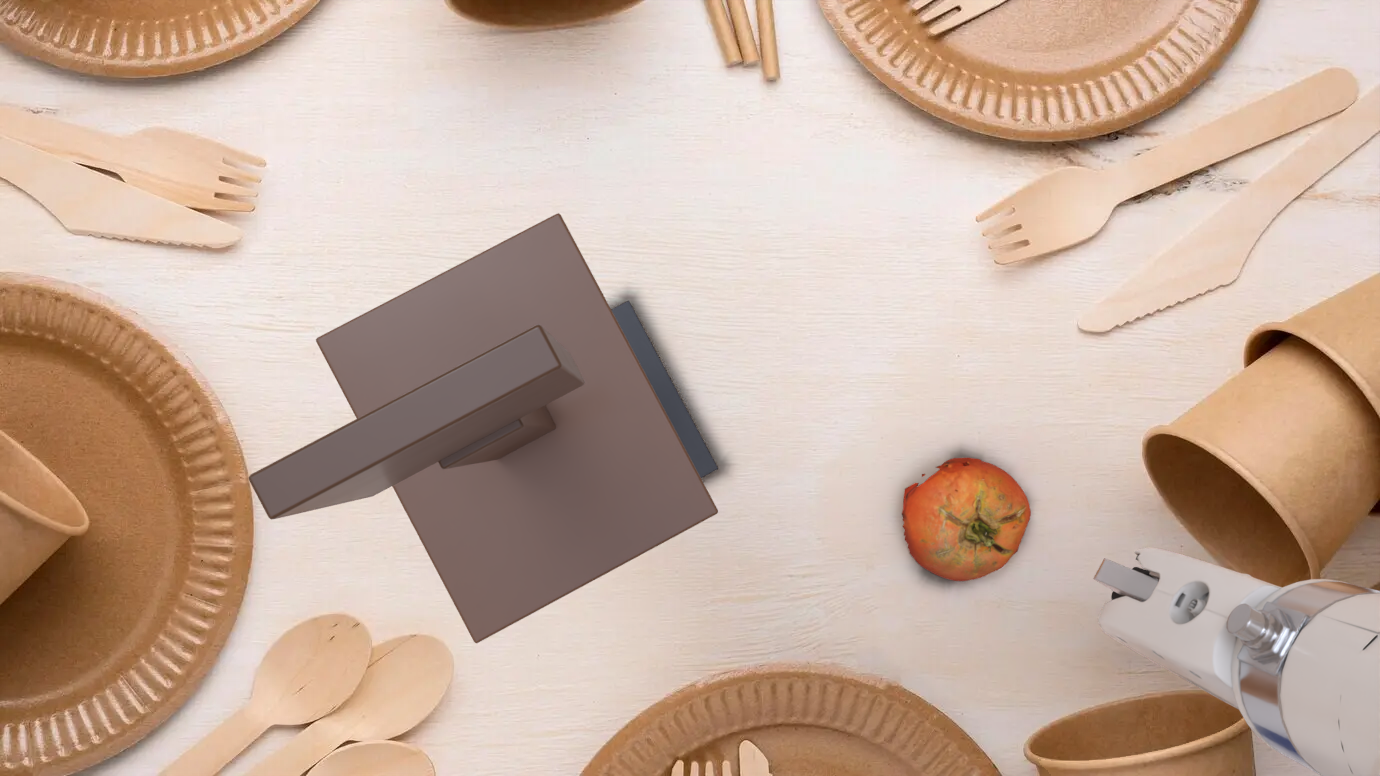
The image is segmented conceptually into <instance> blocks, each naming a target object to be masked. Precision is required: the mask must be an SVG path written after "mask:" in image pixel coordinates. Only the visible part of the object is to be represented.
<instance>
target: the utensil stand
mask: <svg viewBox="0 0 1380 776" xmlns="http://www.w3.org/2000/svg"><path fill="white" fill-rule="evenodd" d="M315 342H316V344H317V346H318V348H319V350H320V351H321V354H322V356H323V357H324V359H325V362H326V363H327V365H328V367H329V369H330V371H331V372H332V374H333V377H334V378H335V380H336V382H337V384H338V386H339V388H340V390H341V392H342V393H343V395H344V397H345V399H346V401H347V403H348V406H349V407H350V409H351V410H352V412H353V414H354V416H355V418H356V419H353V420H352V421H350V422H348V423H345V424H344V425H341V426H340V427H338V428H337V429H334V430H333V431H331V432H329V433H327V434H325V435H323V436H321V437H319V438H317V439H315V440H314V441H312V442H310V443H308V444H306V445H304V446H302V447H301V448H298V449H297V450H295V451H293V452H291V453H289V454H287V455H285V456H283V457H281V458H279V459H277V460H275V461H274V462H272V463H270V464H268V465H266V466H263V467H262V468H260V469H258V470H256V471H255V472H253V473H251V474H250V475H249V476H248V481H249V483H250V485H251V487H252V489H253V490H254V492H255V495H256V496H257V498H258V500H259V502H260V504H261V505H262V508H263V510H264V512H265V514H266V516H267V517H268V519H270V520H277V519H281V518H285V517H286V518H287V517H290V516H294V515H298V514H304V513H306V512H311V511H315V510H320V509H326V508H329V507H332V506H338V505H341V504H346V503H349V502H350V503H351V502H355V501H359V500H364V499H369V498H372V497H375V496H376V495H378V494H380V493H382V492H384V491H386V490H388V489H390V488H391V487H392V489H393V490H394V492H395V495H396V496H397V498H398V500H399V502H400V504H401V506H402V507H403V509H404V511H405V513H406V515H407V517H408V519H409V521H410V523H411V525H412V527H413V528H414V530H415V532H416V534H417V536H418V538H419V540H420V542H421V544H422V546H423V548H424V550H425V551H426V553H427V555H428V557H429V559H430V561H431V563H432V565H433V567H434V568H435V570H436V572H437V574H438V576H439V578H440V580H441V582H442V583H443V585H444V588H445V590H446V591H447V593H448V595H449V597H450V599H451V601H452V603H453V604H454V606H455V609H456V611H457V612H458V614H459V616H460V618H461V620H462V622H463V624H464V625H465V627H466V629H467V631H468V633H469V635H470V637H471V639H472V641H473V642H474V643H475V644H479V643H480V642H483V641H485V640H487V639H488V638H490V637H492V636H494V635H495V634H497V633H499V632H500V631H503V630H505V629H507V628H508V627H510V626H512V625H514V624H516V623H517V622H520V621H521V620H523V619H525V618H527V617H529V616H531V615H532V614H534V613H536V612H539V611H540V610H541V609H544V608H545V607H547V606H549V605H551V604H553V603H554V602H557V601H558V600H560V599H562V598H564V597H566V596H567V595H569V594H572V593H573V592H575V591H577V590H579V589H581V588H583V587H584V586H586V585H588V584H590V583H592V582H593V581H595V580H597V579H599V578H601V577H602V576H605V575H606V574H608V573H610V572H612V571H614V570H616V569H618V568H619V567H622V566H624V565H625V564H627V563H630V562H631V561H632V560H634V559H636V558H638V557H640V556H641V555H644V554H645V553H647V552H649V551H651V550H653V549H655V548H657V547H658V546H661V545H662V544H664V543H665V542H667V541H670V540H671V539H673V538H675V537H677V536H679V535H681V534H682V533H684V532H687V531H688V530H690V529H692V528H694V527H695V526H697V525H699V524H701V523H703V522H704V521H706V520H708V519H710V518H712V517H714V516H716V515H717V514H718V513H719V510H718V507H717V506H716V503H715V502H714V500H713V498H712V497H711V494H710V492H709V491H708V489H707V486H706V484H705V483H704V481H703V478H704V477H706V476H708V475H710V474H712V473H713V472H715V471H717V470H718V469H719V467H718V465H717V463H716V461H715V459H714V457H713V455H712V454H711V452H710V450H709V448H708V446H707V444H706V443H705V441H704V438H703V437H702V434H701V433H700V431H699V429H698V427H697V426H696V423H695V421H694V419H693V418H692V416H691V414H690V412H689V411H688V408H687V407H686V405H685V403H684V401H683V400H682V397H681V395H680V394H679V392H678V390H677V388H676V386H675V385H674V381H672V379H671V377H670V375H669V373H668V371H667V369H666V367H665V366H664V365H665V364H664V363H663V362H662V359H661V358H660V356H659V354H658V352H657V350H656V348H655V347H654V344H653V343H652V341H651V339H650V337H649V336H648V333H647V331H646V330H645V328H644V326H643V324H642V322H641V320H640V318H639V316H638V315H637V313H636V311H635V309H634V307H633V306H632V303H631V302H630V300H626V301H624V302H622V303H620V304H618V305H617V306H614V307H613V308H611V306H610V304H609V303H608V300H607V299H606V297H605V295H604V293H603V292H602V290H601V288H600V286H599V284H598V282H597V280H596V278H595V276H594V274H593V273H592V270H591V268H590V267H589V265H588V264H587V262H586V260H585V258H584V256H583V254H582V252H581V250H580V248H579V246H578V244H577V242H576V241H575V239H574V237H573V235H572V233H571V231H570V229H569V228H568V226H567V223H566V222H565V220H564V218H563V216H562V214H560V213H559V212H558V213H555V214H553V215H551V216H549V217H548V218H545V219H544V220H542V221H540V222H538V223H536V224H534V225H532V226H529V227H528V228H526V229H525V230H522V231H520V232H519V233H517V234H515V235H513V236H511V237H509V238H507V239H504V240H503V241H501V242H499V243H498V244H495V245H493V246H491V247H490V248H488V249H486V250H483V251H482V252H480V253H478V254H476V255H474V256H473V257H470V258H468V259H467V260H466V259H465V260H464V261H463V262H460V263H459V264H457V265H455V266H452V267H451V268H449V269H447V270H445V271H443V272H441V273H440V274H438V275H436V276H434V277H432V278H429V279H428V280H426V281H424V282H421V283H420V284H418V285H416V286H414V287H412V288H411V289H409V290H406V291H404V292H403V293H401V294H399V295H397V296H395V297H392V298H391V299H390V300H388V301H386V302H384V303H382V304H380V305H377V306H376V307H374V308H372V309H369V310H368V311H366V312H363V313H362V314H359V316H356V317H355V318H353V319H351V320H348V321H347V322H345V323H342V324H341V325H339V326H336V327H335V328H333V329H331V330H330V331H328V332H325V333H324V334H322V335H319V336H318V337H316V339H315Z"/></svg>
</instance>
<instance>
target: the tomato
mask: <svg viewBox="0 0 1380 776" xmlns="http://www.w3.org/2000/svg"><path fill="white" fill-rule="evenodd" d="M935 469H938V470H937V471H935V473H934V474H932V475H930V476H929V477H928V478H927V479H926V480H925V481H924V482H922V483H921V484H919V483H920V482H914V483H912V484H910V485H909V486H906V487H905V488H904V491H903V500H902V511H901V517H902V522H903V525H902V529H903V530H904V532H903V536H904V541H905V542H906V544H907V549H908V552H909V555H911V557H912V558H913V560H914V561H915V562H916V563H917V564H918V565H919V566H920V567H922V568H923V569H925V570H926V571H928V572H930V573H931V574H934V575H935V576H938V577H941V578H943V579H946V580H948V581H953V582H968V581H972V580H978V579H981V578H985V577H986V576H988V575H990V574H992V573H995V572H997V571H998V570H1000V569H1002V568H1003V567H1004V566H1005V565H1006V564H1008V562H1009V561H1010V560H1011V559H1012V558H1013V556H1014V555H1015V554H1017V553H1018V551H1019V548H1020V545H1021V543H1022V539H1023V538H1024V536H1025V534H1026V533H1025V532H1026V529H1027V528H1028V524H1029V523H1030V520H1031V517H1032V512H1031V511H1032V510H1031V506H1030V503H1029V500H1028V497H1027V495H1026V493H1025V491H1024V490H1023V489H1022V487H1021V486H1020V485H1019V483H1018V481H1016V480H1015V478H1014V477H1013V476H1012V475H1010V473H1009V472H1007V471H1006V470H1004V469H1002V468H1001V467H999V466H997V465H995V464H993V463H991V462H987V461H984V460H982V459H980V458H974V457H953V458H949V459H948V460H946V461H944V462H943V463H941V464H940V465H938V466H935ZM925 476H926V473H922V474H921V477H925Z"/></svg>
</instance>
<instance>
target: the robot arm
mask: <svg viewBox="0 0 1380 776" xmlns="http://www.w3.org/2000/svg"><path fill="white" fill-rule="evenodd" d="M1133 553H1134V554H1135V555H1137V556H1136V557H1135V560H1136V561H1138V562H1139V565H1140V567H1138V566H1133V568H1131V567H1128V566H1125V565H1123V564H1120V563H1118V562H1116V561H1113V560H1111V559H1108V558H1103V560H1102V561H1101V563H1100V565H1099V567H1098V569H1097V570H1096V572H1095V574H1094V576H1093V578H1092V579H1093V580H1094V581H1096V582H1098V583H1099V584H1101V585H1102V586H1104V587H1106V588H1108V589H1109V590H1111V591H1112V593H1111V597H1110V598H1111V600H1108V601H1105V603H1104V604H1103V605H1102V607H1101V610H1100V612H1099V615H1098V616H1097V622H1098V625H1099V627H1100V629H1101V631H1102V632H1103V633H1104V634H1106V635H1107V636H1109V637H1110V638H1111V639H1113V640H1115V641H1116V642H1117V643H1120V644H1121V645H1123V646H1124V647H1127V648H1128V649H1130V650H1131V651H1133V652H1135V653H1137V654H1138V655H1141V656H1142V657H1144V658H1146V659H1147V660H1149V661H1150V662H1153V663H1154V664H1155V665H1157V666H1159V667H1161V668H1162V669H1165V670H1166V671H1168V672H1170V673H1171V674H1173V675H1175V676H1177V677H1178V678H1180V679H1182V680H1184V681H1186V682H1188V683H1189V684H1191V685H1192V686H1195V687H1197V688H1198V689H1200V690H1202V691H1204V692H1205V693H1208V694H1209V695H1211V696H1213V697H1215V698H1216V699H1218V700H1220V701H1221V702H1224V703H1225V704H1228V705H1230V706H1231V707H1233V708H1235V709H1237V710H1239V712H1240V714H1241V716H1242V718H1243V719H1244V721H1245V723H1246V725H1247V726H1248V727H1249V728H1250V729H1251V731H1252V732H1253V734H1254V735H1255V736H1256V737H1257V738H1258V739H1259V740H1261V741H1262V742H1263V743H1264V744H1265V745H1266V746H1268V747H1269V748H1270V749H1272V750H1273V751H1275V752H1276V753H1278V754H1280V755H1282V756H1284V757H1286V758H1288V759H1290V760H1291V761H1294V762H1295V763H1297V764H1299V765H1301V766H1303V767H1304V768H1306V769H1308V770H1310V771H1312V772H1314V773H1316V774H1318V775H1319V776H1380V590H1377V589H1374V588H1371V587H1370V588H1369V587H1366V586H1362V585H1357V584H1354V583H1350V582H1346V581H1342V580H1337V579H1331V578H1310V579H1306V580H1300V581H1296V582H1293V583H1290V584H1288V585H1285V586H1283V587H1282V586H1279V585H1276V584H1273V583H1271V582H1268V581H1265V580H1262V579H1259V578H1256V577H1253V576H1252V575H1251V574H1248V573H1244V572H1243V573H1241V572H1239V571H1236V570H1233V569H1230V568H1227V567H1224V566H1221V565H1218V564H1215V563H1212V562H1210V561H1205V560H1202V559H1199V558H1196V557H1193V556H1189V555H1186V554H1182V553H1179V552H1176V551H1173V550H1169V549H1164V548H1159V547H1154V546H1148V547H1147V546H1145V547H1142V548H1138V549H1136V550H1134V551H1133Z"/></svg>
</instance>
